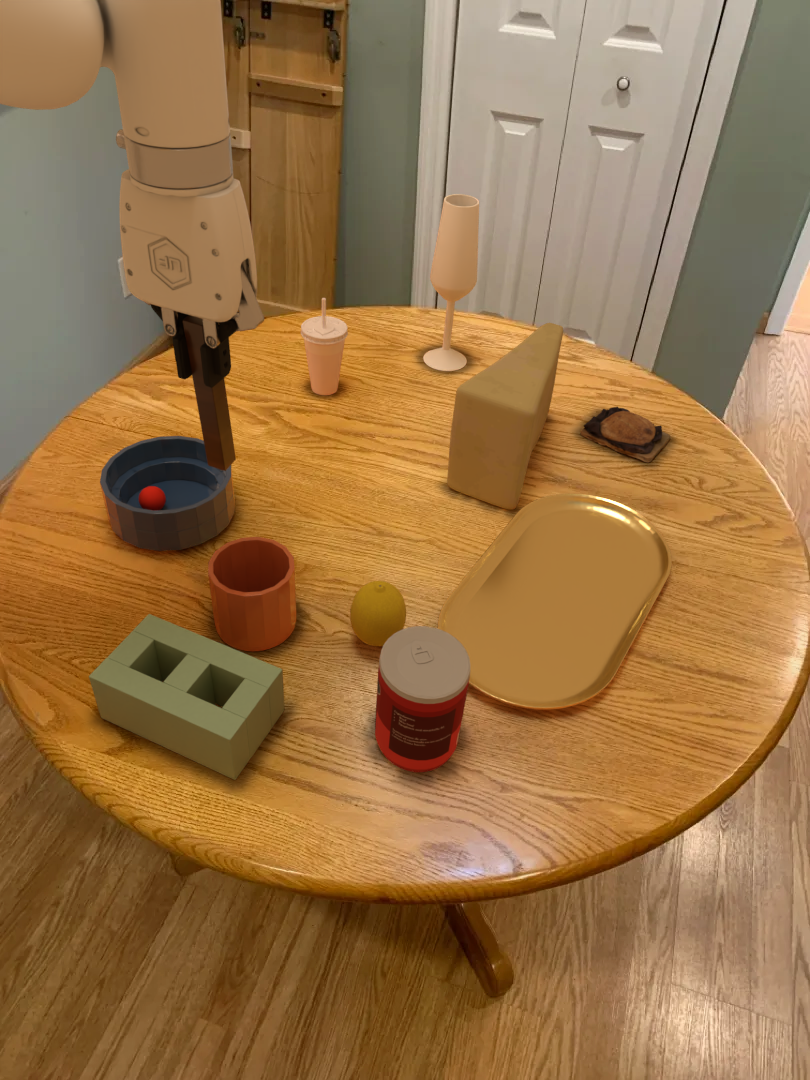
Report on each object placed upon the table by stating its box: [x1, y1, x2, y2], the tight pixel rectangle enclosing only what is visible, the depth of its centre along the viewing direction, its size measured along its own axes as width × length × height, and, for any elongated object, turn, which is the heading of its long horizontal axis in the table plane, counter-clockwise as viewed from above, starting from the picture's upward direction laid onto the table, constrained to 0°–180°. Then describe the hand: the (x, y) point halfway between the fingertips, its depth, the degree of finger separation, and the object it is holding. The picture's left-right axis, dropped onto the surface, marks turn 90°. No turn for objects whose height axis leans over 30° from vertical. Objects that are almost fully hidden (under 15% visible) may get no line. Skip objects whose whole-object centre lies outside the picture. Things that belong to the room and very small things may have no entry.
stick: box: [183, 315, 237, 471], centre depth 77 cm, size 2×2×16 cm
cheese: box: [446, 322, 564, 510], centre depth 106 cm, size 22×10×15 cm, turn 152°
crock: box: [207, 536, 297, 652], centre depth 84 cm, size 8×8×8 cm
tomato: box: [139, 486, 166, 511], centre depth 97 cm, size 3×3×3 cm
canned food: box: [374, 625, 470, 773], centre depth 74 cm, size 8×8×11 cm
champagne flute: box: [422, 193, 480, 372], centre depth 121 cm, size 7×7×24 cm
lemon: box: [349, 580, 407, 647], centre depth 83 cm, size 6×6×8 cm
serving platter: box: [437, 493, 673, 711], centre depth 92 cm, size 19×35×2 cm, turn 149°
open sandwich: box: [579, 406, 671, 464], centre depth 115 cm, size 11×8×4 cm
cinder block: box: [88, 613, 286, 781], centre depth 76 cm, size 8×14×6 cm, turn 65°
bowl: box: [99, 435, 236, 552], centre depth 97 cm, size 14×14×6 cm
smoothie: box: [300, 297, 349, 396], centre depth 116 cm, size 6×6×14 cm
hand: (204, 374), depth 75 cm, fingers closed on stick, 2 cm apart
